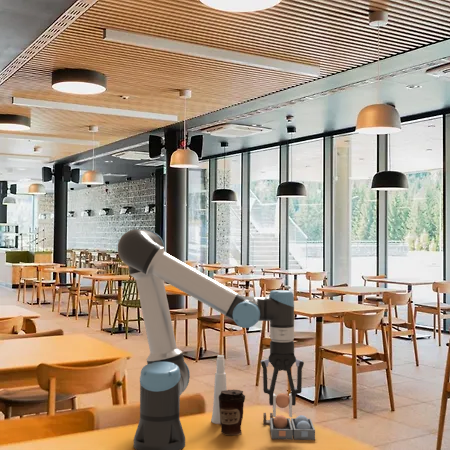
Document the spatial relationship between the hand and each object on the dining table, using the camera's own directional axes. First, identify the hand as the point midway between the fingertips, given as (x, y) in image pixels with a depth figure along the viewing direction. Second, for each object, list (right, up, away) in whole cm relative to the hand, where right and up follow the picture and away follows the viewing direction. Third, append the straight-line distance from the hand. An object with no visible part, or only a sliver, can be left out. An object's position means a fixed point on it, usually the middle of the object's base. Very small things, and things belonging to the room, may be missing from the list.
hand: (282, 415), depth 190 cm
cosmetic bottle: (-20, -7, +15) cm, 25 cm away
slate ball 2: (+6, -4, 0) cm, 8 cm away
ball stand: (-4, -7, +13) cm, 15 cm away
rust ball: (0, -4, +6) cm, 7 cm away
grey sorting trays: (+3, -6, +3) cm, 8 cm away
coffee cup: (-16, -7, +3) cm, 17 cm away
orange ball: (0, +5, 0) cm, 5 cm away
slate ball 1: (+7, -4, +6) cm, 10 cm away
